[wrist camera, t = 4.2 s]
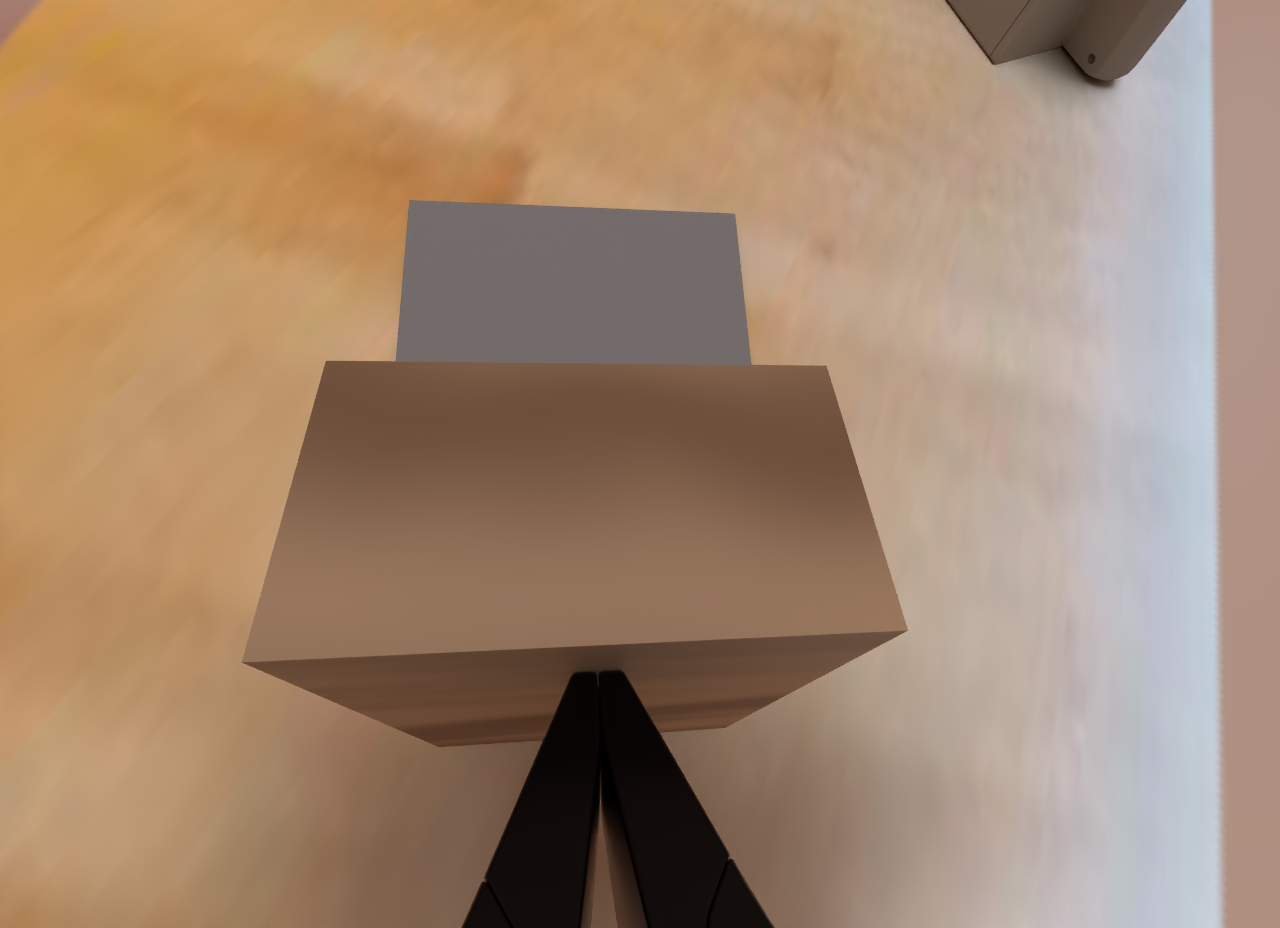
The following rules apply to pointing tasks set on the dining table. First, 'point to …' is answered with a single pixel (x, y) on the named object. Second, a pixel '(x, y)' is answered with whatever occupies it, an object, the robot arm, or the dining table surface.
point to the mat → (570, 286)
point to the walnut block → (570, 543)
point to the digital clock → (1069, 29)
